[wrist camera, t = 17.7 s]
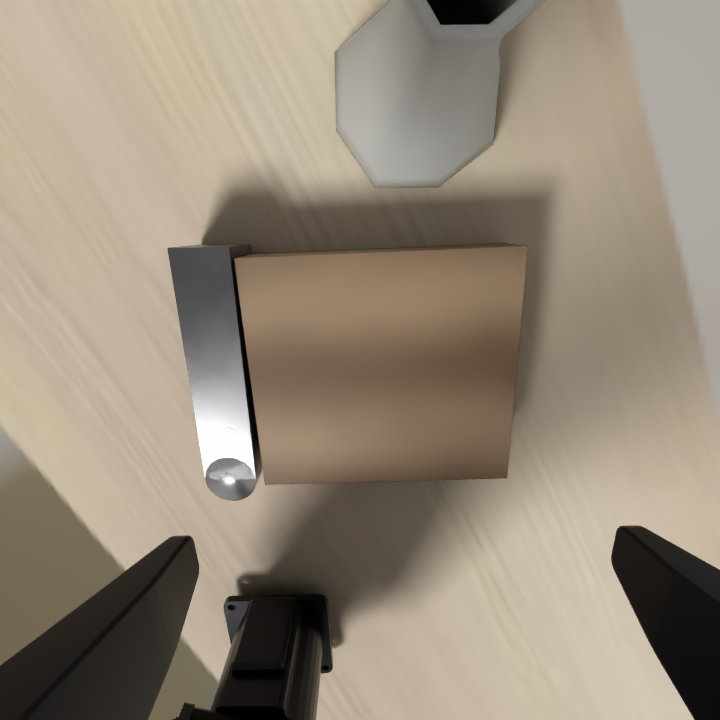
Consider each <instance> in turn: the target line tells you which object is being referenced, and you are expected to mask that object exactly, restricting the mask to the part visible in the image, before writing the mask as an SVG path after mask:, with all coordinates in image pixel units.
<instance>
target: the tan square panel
mask: <svg viewBox="0 0 720 720" xmlns="http://www.w3.org/2000/svg"><path fill="white" fill-rule="evenodd" d="M527 251H528V246H522V245H514V244H505V243H499V244H476V245H452V246H428V247H404V248H380V249H356V250H332V251H308V252H285V253H261V254H250V255H246V256H242V257H238V258H234V264H235V271H236V278H237V286H238V293H239V300H240V307H241V314H242V322H243V329H244V336H245V343H246V351H247V358H248V365H249V372H250V379H251V387H252V394H253V401H254V408H255V416H256V423H257V430H258V437H259V444H260V452H261V459H262V466H263V473H264V481H265V485H272V484H310V483H347V482H384V481H422V480H459V479H496V478H507V473H508V462H509V451H510V440H511V429H512V417H513V406H514V395H515V384H516V373H517V362H518V351H519V340H520V329H521V318H522V307H523V296H524V285H525V273H526V262H527Z"/></svg>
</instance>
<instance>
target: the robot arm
mask: <svg viewBox="0 0 720 720" xmlns="http://www.w3.org/2000/svg"><path fill="white" fill-rule="evenodd" d="M611 561H612V566H613V569H614V571H615V573H616V575H617V577H618V579H619V581H620V583H621V585H622V587H623V590H624V592H625V594H626V596H627V598H628V600H629V602H630V604H631V606H632V608H633V610H634V612H635V614H636V616H637V618H638V620H639V623H640V625H641V627H642V629H643V631H644V633H645V635H646V637H647V639H648V641H649V643H650V645H651V647H652V648H653V650H654V652H655V654H656V655H657V657H658V659H659V661H660V662H661V664H662V666H663V667H664V669H665V671H666V673H667V674H668V676H669V678H670V679H671V681H672V683H673V684H674V686H675V688H676V689H677V691H678V693H679V694H680V696H681V698H682V699H683V701H684V703H685V704H686V706H687V708H688V710H689V711H690V713H691V715H692V716H693V718H694V720H720V570H719V569H717V568H715V567H713V566H712V565H710V564H708V563H706V562H705V561H703V560H701V559H699V558H697V557H696V556H694V555H692V554H690V553H689V552H687V551H685V550H683V549H681V548H680V547H678V546H676V545H674V544H673V543H671V542H669V541H667V540H665V539H664V538H662V537H660V536H658V535H656V534H655V533H653V532H651V531H649V530H648V529H646V528H644V527H642V526H620V527H619V528H618V529H617V531H616V536H615V541H614V545H613V550H612V555H611ZM198 575H199V563H198V558H197V553H196V549H195V544H194V540H193V538H192V537H191V536H172V537H170V538H169V539H167V540H166V541H164V542H163V543H162V544H160V545H159V546H158V547H157V548H155V549H154V550H153V551H151V552H150V553H149V554H147V555H146V556H145V557H143V558H142V559H141V560H139V561H138V562H137V563H135V564H134V565H133V566H131V567H130V568H129V569H127V570H126V571H125V572H123V573H122V574H121V575H119V576H118V577H117V578H116V579H114V580H113V581H112V582H111V583H109V584H108V585H106V586H105V587H104V588H103V589H101V590H100V591H98V592H97V593H96V594H94V595H93V596H92V597H90V598H89V599H88V600H86V601H85V602H84V603H82V604H81V605H80V606H78V607H77V608H76V609H74V610H73V611H72V612H71V613H69V614H68V615H66V616H65V617H64V618H62V619H61V620H60V621H59V622H57V623H56V624H55V625H53V626H52V627H51V628H49V629H48V630H47V631H45V632H44V633H43V634H41V635H40V636H39V637H37V638H36V639H35V640H33V641H32V642H31V643H29V644H28V645H27V646H25V647H24V648H23V649H22V650H20V651H19V652H17V653H16V654H15V655H14V656H13V657H11V658H10V659H8V660H7V661H6V662H4V663H3V664H2V665H0V720H148V718H149V716H150V713H151V711H152V709H153V706H154V704H155V701H156V699H157V696H158V694H159V691H160V689H161V686H162V684H163V682H164V679H165V677H166V674H167V672H168V669H169V667H170V664H171V662H172V659H173V656H174V654H175V651H176V647H177V644H178V641H179V638H180V635H181V632H182V628H183V625H184V622H185V618H186V615H187V612H188V609H189V605H190V602H191V599H192V595H193V592H194V589H195V585H196V582H197V579H198ZM224 612H225V617H226V622H227V627H228V632H229V637H230V642H231V647H230V651H229V654H228V657H227V660H226V663H225V666H224V669H223V672H222V675H221V679H220V682H219V685H218V688H217V691H216V694H215V697H214V700H213V703H212V707H211V710H206V709H202V708H198V707H195V704H191V703H186V702H185V703H184V705H183V708H182V711H181V713H180V715H179V717H176V719H173V720H316V713H317V703H318V693H319V683H320V674H321V673H328V672H330V671H331V670H332V668H333V656H332V644H331V633H330V622H329V611H328V600H327V598H326V597H325V596H324V595H321V594H305V595H254V596H229V597H228V598H227V599H226V601H225V604H224Z"/></svg>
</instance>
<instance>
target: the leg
mask: <svg viewBox="0 0 720 720" xmlns="http://www.w3.org/2000/svg"><path fill="white" fill-rule="evenodd" d="M168 254H169V260H170V266H171V272H172V278H173V284H174V291H175V297H176V303H177V309H178V315H179V321H180V327H181V333H182V339H183V346H184V352H185V358H186V364H187V370H188V376H189V382H190V388H191V394H192V401H193V407H194V413H195V419H196V425H197V431H198V437H199V443H200V449H201V456H202V462H203V468H204V474H205V480H206V483H207V486H208V487H209V489H210V490H211V491H212V492H213V493H214V494H215V495H217V496H218V497H220V498H222V499H225V500H231V501H236V500H241V499H244V498H246V497H248V496H249V495H250V494H251V493H252V492H253V490H254V489H255V486H256V484H257V482H258V479H259V477H260V474H261V472H262V470H263V466H262V459H261V452H260V444H259V437H258V430H257V423H256V416H255V408H254V401H253V394H252V387H251V379H250V372H249V365H248V358H247V351H246V343H245V336H244V329H243V322H242V314H241V307H240V300H239V293H238V286H237V278H236V271H235V264H234V258H238V257H242V256H246V255H250V254H251V253H250V244H221V245H191V246H182V247H172V248H168Z"/></svg>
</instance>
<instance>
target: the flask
mask: <svg viewBox="0 0 720 720" xmlns="http://www.w3.org/2000/svg"><path fill="white" fill-rule="evenodd" d="M544 1H545V0H389V1H388V3H387V4H386V5H385V6H384V7H383V8H382V9H381V10H380V11H378V12H377V13H376V14H375V15H374V16H373V17H372V18H371V19H370V20H369V21H368V22H367V23H365V24H364V25H363V26H362V27H361V28H360V29H359V30H358V31H357V32H356V33H355V34H354V35H352V36H351V37H350V38H349V39H348V40H347V41H346V42H345V43H344V44H343V45H342V46H341V47H340V48H339V49H338V50H336V51H335V99H336V131H337V133H338V134H339V136H340V137H341V139H342V140H343V142H344V143H345V145H346V146H347V147H348V149H349V150H350V152H351V153H352V155H353V156H354V158H355V159H356V161H357V162H358V164H359V165H360V166H361V168H362V169H363V171H364V172H365V174H366V175H367V177H368V178H369V180H370V181H371V183H372V184H373V185H374V187H375V188H423V187H440V186H441V185H442V184H443V183H445V182H446V181H447V180H448V179H450V178H451V177H452V176H454V175H455V174H456V173H457V172H459V171H460V170H461V169H462V168H464V167H465V166H466V165H468V164H469V163H470V162H471V161H473V160H474V159H475V158H477V157H478V156H479V155H480V154H482V153H483V152H484V151H485V150H487V149H488V148H489V147H491V146H492V145H493V140H494V129H495V118H496V108H497V97H498V86H499V75H500V56H499V47H500V44H501V40H502V37H503V36H504V35H505V34H506V33H508V32H509V31H510V30H511V29H512V28H514V27H515V26H516V25H517V24H518V23H520V22H521V21H522V20H523V19H524V18H525V17H527V16H528V15H529V14H530V13H531V12H533V11H534V10H535V9H536V8H537V7H539V6H540V5H541V4H542V3H543V2H544Z"/></svg>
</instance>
